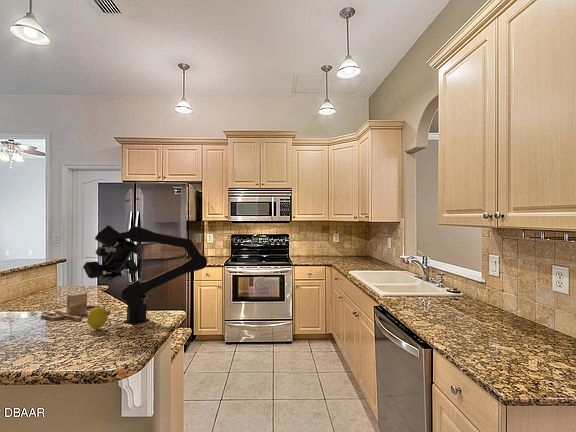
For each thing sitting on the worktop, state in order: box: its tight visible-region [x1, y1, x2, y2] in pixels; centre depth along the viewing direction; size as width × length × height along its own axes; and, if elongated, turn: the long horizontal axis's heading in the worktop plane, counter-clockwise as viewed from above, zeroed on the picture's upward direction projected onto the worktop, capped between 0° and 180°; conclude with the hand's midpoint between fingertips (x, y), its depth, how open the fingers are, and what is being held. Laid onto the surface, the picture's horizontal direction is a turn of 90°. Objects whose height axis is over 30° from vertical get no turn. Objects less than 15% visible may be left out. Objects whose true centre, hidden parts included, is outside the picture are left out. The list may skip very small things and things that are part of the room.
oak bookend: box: [53, 292, 88, 316], centre depth 124 cm, size 11×6×8 cm, turn 66°
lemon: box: [87, 305, 108, 331], centre depth 102 cm, size 6×6×8 cm
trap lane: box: [40, 304, 111, 322], centre depth 122 cm, size 23×20×1 cm
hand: (102, 283), depth 117 cm, fingers closed
